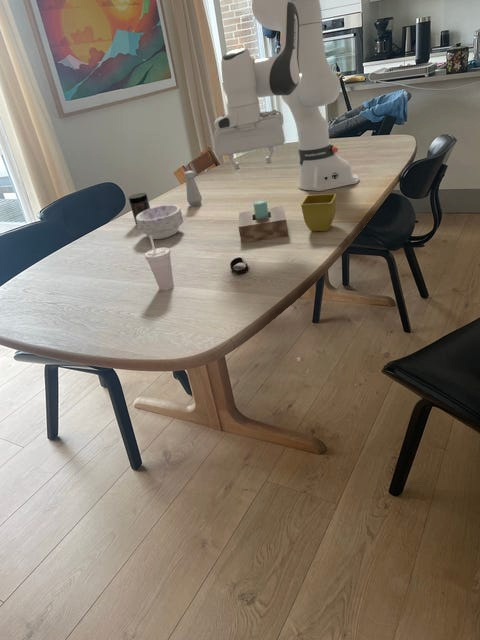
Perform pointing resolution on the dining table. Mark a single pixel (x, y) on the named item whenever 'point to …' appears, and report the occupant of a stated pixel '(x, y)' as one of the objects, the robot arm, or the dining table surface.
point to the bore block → (262, 225)
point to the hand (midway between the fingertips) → (253, 166)
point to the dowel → (261, 210)
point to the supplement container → (138, 203)
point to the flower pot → (319, 211)
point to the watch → (236, 261)
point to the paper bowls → (160, 221)
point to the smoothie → (160, 266)
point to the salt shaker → (192, 189)
